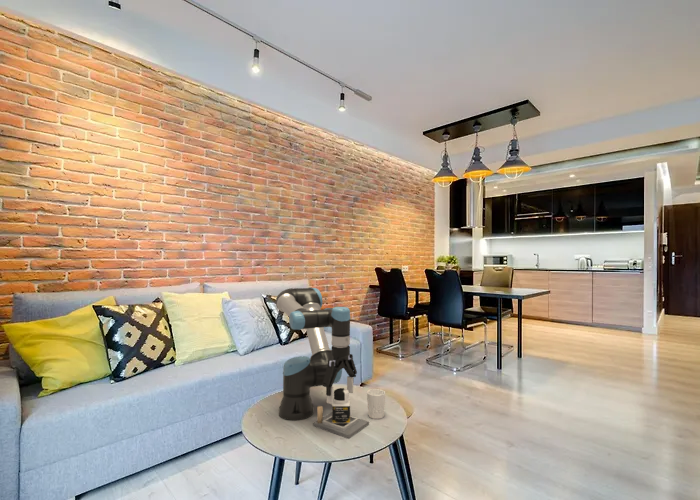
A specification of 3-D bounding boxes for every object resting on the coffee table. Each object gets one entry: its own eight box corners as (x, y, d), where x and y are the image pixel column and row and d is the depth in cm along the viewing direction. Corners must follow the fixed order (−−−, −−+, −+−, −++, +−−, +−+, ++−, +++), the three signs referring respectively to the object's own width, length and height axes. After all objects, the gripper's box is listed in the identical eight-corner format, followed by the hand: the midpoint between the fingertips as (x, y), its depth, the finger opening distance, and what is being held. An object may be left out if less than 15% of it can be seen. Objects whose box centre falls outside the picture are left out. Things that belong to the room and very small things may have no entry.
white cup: (384, 420, 147) (384, 396, 147) (365, 418, 148) (365, 394, 148) (386, 412, 154) (386, 389, 155) (368, 411, 156) (368, 388, 156)
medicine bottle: (332, 423, 139) (332, 392, 139) (333, 415, 146) (333, 386, 146) (350, 423, 139) (350, 392, 139) (350, 415, 146) (350, 386, 146)
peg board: (312, 425, 142) (312, 407, 142) (334, 413, 153) (334, 396, 153) (348, 438, 131) (348, 419, 132) (368, 424, 143) (368, 406, 143)
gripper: (328, 353, 131) (328, 410, 131) (365, 340, 151) (364, 390, 151) (313, 350, 136) (313, 405, 135) (351, 338, 156) (350, 386, 155)
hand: (340, 397), depth 143 cm, fingers open, 13 cm apart
